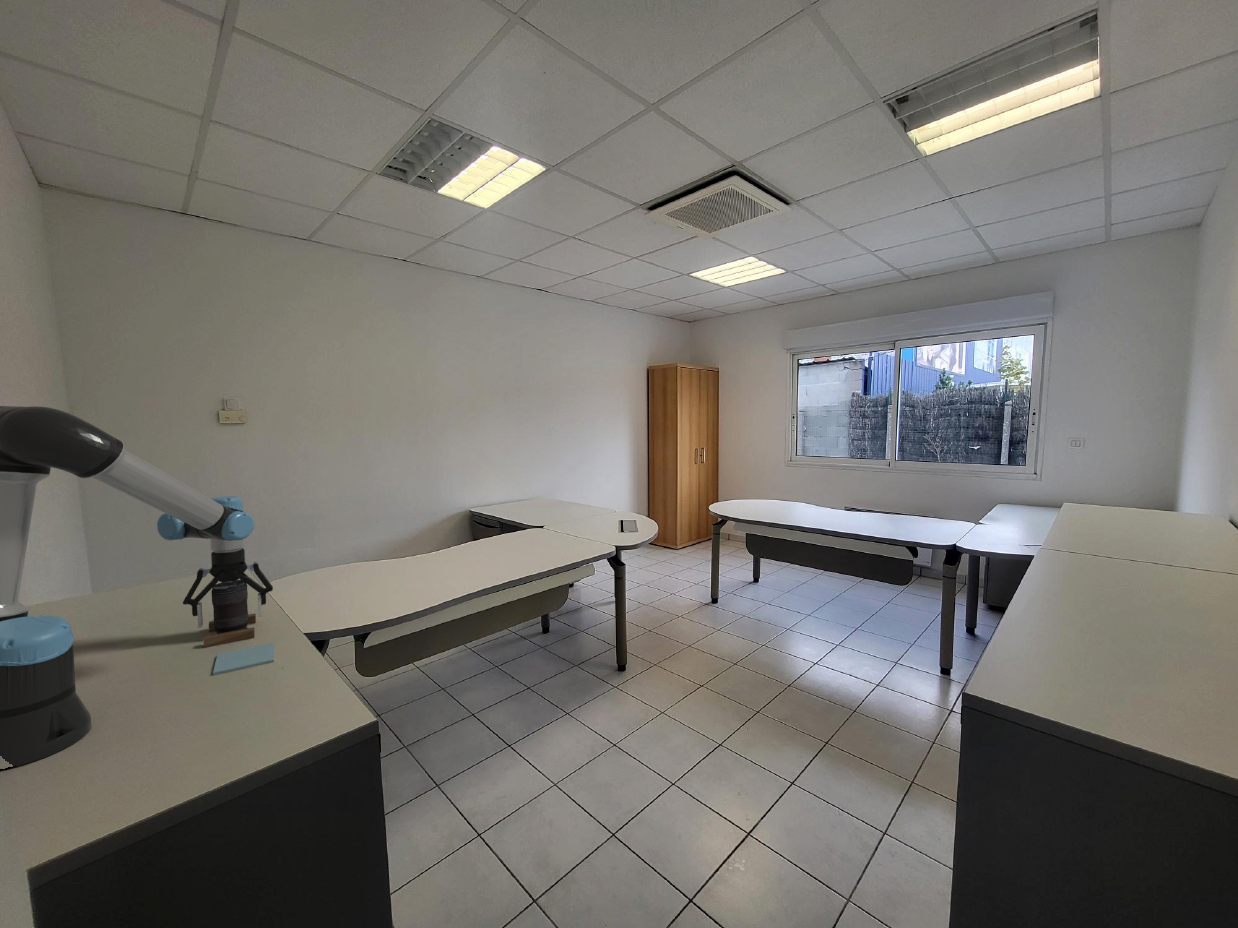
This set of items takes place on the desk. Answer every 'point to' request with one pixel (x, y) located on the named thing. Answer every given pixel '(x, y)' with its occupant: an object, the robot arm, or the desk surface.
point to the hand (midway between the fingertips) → (231, 620)
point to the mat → (244, 658)
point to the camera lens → (230, 606)
